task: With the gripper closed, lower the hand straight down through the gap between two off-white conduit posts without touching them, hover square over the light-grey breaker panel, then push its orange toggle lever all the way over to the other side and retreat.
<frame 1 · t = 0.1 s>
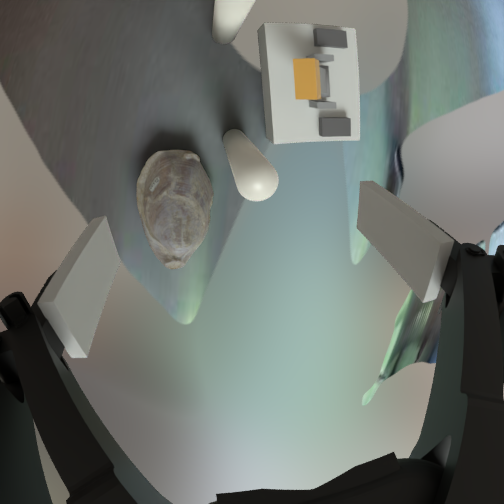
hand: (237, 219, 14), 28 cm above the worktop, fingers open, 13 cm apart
breaker lever: (315, 80, 27), point 10 cm above the worktop, hinge at 30.0°
breaker panel: (304, 82, 35), on the worktop
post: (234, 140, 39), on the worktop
seashell: (175, 196, 42), on the worktop
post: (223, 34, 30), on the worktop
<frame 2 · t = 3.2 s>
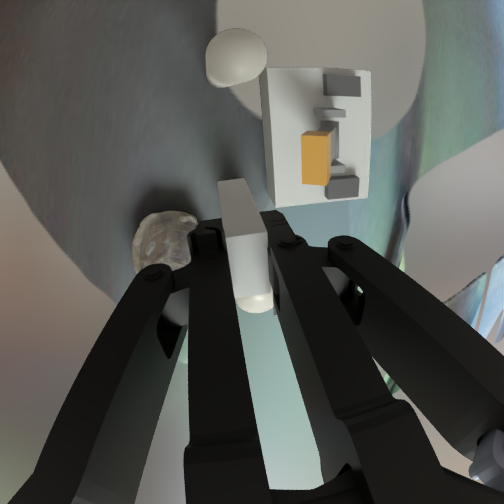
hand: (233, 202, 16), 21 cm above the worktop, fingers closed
breaker lever: (324, 147, 26), point 10 cm above the worktop, hinge at 30.0°
breaker panel: (310, 130, 34), on the worktop
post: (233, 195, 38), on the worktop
seashell: (172, 252, 41), on the worktop
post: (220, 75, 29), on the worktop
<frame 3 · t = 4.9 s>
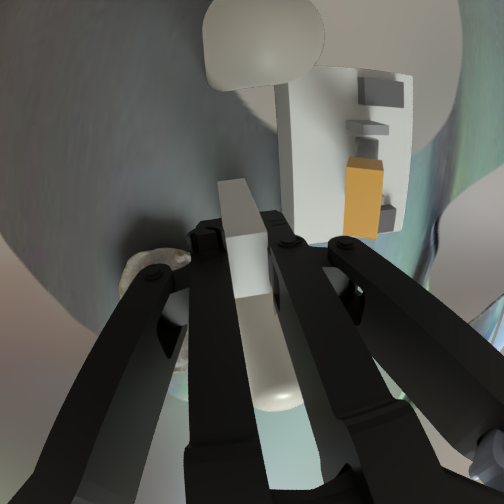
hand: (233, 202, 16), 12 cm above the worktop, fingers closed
breaker lever: (365, 176, 19), point 10 cm above the worktop, hinge at 30.0°
breaker panel: (335, 146, 28), on the worktop
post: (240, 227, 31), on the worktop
seashell: (168, 291, 34), on the worktop
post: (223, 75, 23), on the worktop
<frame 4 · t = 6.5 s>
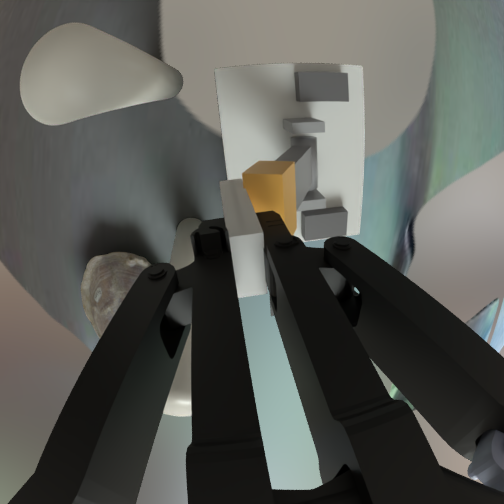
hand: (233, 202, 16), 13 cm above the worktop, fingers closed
breaker lever: (291, 179, 19), point 10 cm above the worktop, hinge at 28.2°, touching gripper
breaker panel: (285, 146, 27), on the worktop
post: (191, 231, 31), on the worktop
seashell: (130, 292, 34), on the worktop
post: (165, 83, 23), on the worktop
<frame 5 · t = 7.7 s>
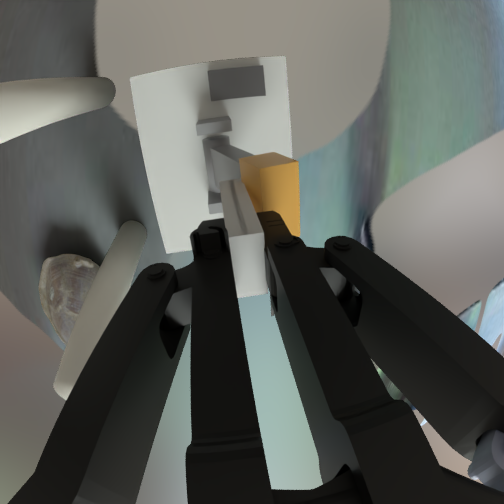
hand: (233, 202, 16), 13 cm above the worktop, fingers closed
breaker lever: (240, 177, 18), point 11 cm above the worktop, hinge at -17.0°, touching gripper
breaker panel: (217, 146, 27), on the worktop
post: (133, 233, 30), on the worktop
seashell: (86, 291, 34), on the worktop
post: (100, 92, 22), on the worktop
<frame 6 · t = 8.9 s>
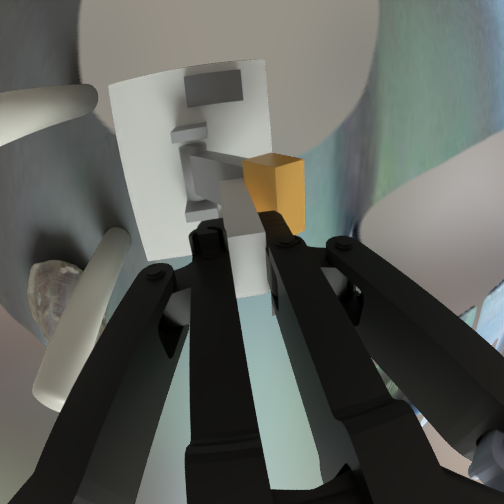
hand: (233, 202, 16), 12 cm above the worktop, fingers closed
breaker lever: (229, 181, 18), point 10 cm above the worktop, hinge at -32.4°, touching gripper
breaker panel: (199, 152, 26), on the worktop
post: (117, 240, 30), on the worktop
seashell: (74, 297, 33), on the worktop
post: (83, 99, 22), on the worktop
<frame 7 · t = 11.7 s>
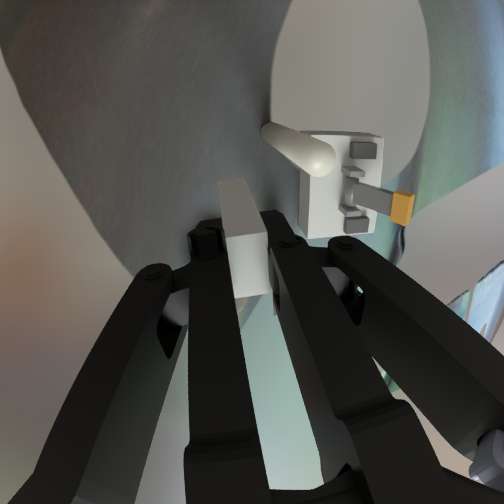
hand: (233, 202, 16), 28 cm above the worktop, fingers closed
breaker lever: (376, 198, 38), point 10 cm above the worktop, hinge at -32.5°
breaker panel: (334, 178, 46), on the worktop
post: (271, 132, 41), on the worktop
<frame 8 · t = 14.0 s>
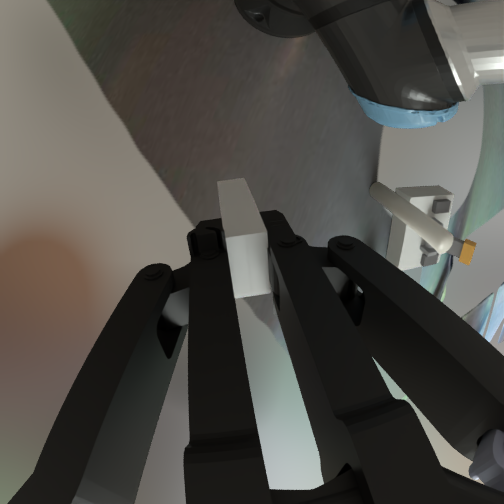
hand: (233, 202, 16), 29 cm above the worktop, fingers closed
breaker lever: (449, 244, 46), point 10 cm above the worktop, hinge at -32.5°
breaker panel: (413, 222, 55), on the worktop
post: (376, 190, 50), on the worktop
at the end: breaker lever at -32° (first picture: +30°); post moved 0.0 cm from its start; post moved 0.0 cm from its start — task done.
